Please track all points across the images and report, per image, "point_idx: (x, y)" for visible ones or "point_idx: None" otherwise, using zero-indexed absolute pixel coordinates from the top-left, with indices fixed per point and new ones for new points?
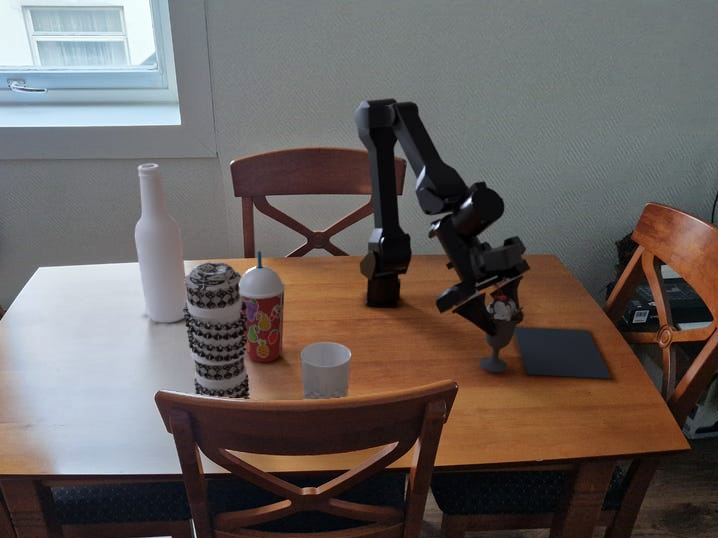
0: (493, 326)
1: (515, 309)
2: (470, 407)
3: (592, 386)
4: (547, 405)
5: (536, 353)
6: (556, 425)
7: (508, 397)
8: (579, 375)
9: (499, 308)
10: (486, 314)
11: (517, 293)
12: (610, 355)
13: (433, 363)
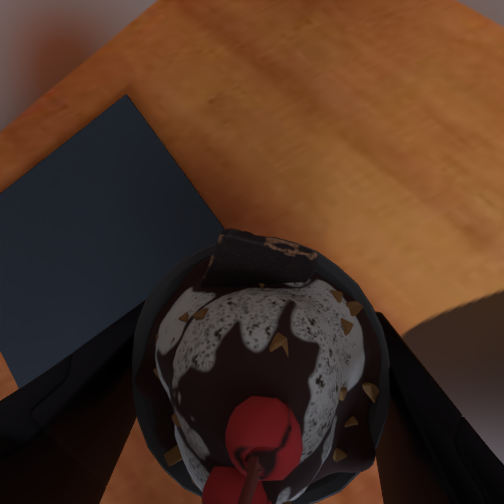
0: (391, 344)
1: (200, 306)
2: (489, 266)
3: (181, 109)
4: (329, 136)
5: (122, 275)
6: (394, 80)
7: (366, 219)
8: (158, 148)
9: (338, 385)
10: (455, 434)
11: (9, 397)
12: (28, 147)
13: (359, 484)
